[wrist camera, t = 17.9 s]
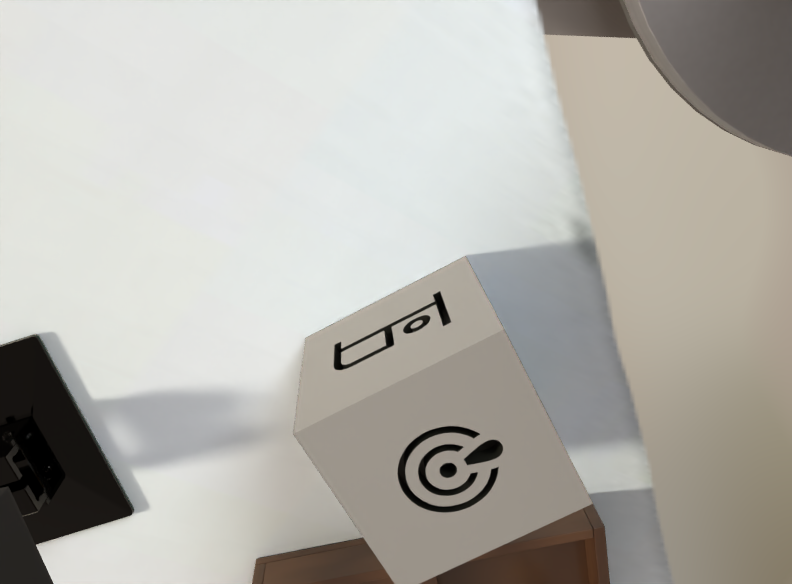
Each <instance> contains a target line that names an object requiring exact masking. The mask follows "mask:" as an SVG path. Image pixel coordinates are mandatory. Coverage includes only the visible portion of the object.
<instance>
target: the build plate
mask: <svg viewBox="0 0 792 584" xmlns="http://www.w3.org/2000/svg"><path fill="white" fill-rule="evenodd" d="M8 486H9V489H10V491H11V493H12V495H13V497H14V499H15V502H16V504H17V506H18V508H19V510H20V512H21V515H22V517H23V519H24V521H25V523H26V525H27V528H28V530H29V532H30V534H31V536H32V538H33V541H34V543H35V545H36V544H39V543H42V542H46V541H49V540H52V539H55V538H59V537H62V536H65V535H68V534H72V533H75V532H78V531H81V530H85V529H88V528H91V527H94V526H98V525H101V524H104V523H107V522H111V521H114V520H117V519H120V518H124V517H127V516H130V515H132V513H133V511H134V507H133V506H132V504H131V502H130V500H129V498H128V497H127V495H126V493H125V491H124V489H123V487H122V486H121V484H120V482H119V480H118V478H117V476H116V475H115V473H114V471H113V469H112V467H111V466H110V464H109V462H108V460H107V458H106V456H105V455H104V453H103V451H102V449H101V447H100V445H99V444H98V442H97V440H96V438H95V436H94V435H93V433H92V431H91V429H90V427H89V425H88V424H87V422H86V420H85V418H84V416H83V414H82V413H81V411H80V409H79V407H78V405H77V404H76V402H75V400H74V398H73V396H72V394H71V393H70V391H69V389H68V387H67V385H66V383H65V382H64V380H63V378H62V376H61V374H60V373H59V371H58V369H57V367H56V365H55V363H54V362H53V360H52V358H51V356H50V354H49V352H48V351H47V349H46V347H45V345H44V343H43V342H42V340H41V338H40V336H39V335H36V334H34V335H30V336H27V337H24V338H21V339H18V340H15V341H12V342H9V343H6V344H2V345H0V488H3V487H8Z"/></svg>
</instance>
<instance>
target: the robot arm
mask: <svg viewBox="0 0 792 584" xmlns="http://www.w3.org/2000/svg"><path fill="white" fill-rule="evenodd" d="M0 584H53V582H52V579H51V577H50V575H49V573H48V571H47V569H46V566H45V564H44V562H43V560H42V558H41V556H40V554H39V551H38V549H37V547H36V545H35V543H34V541H33V538H32V536H31V534H30V532H29V530H28V528H27V525H26V523H25V521H24V519H23V517H22V515H21V512H20V510H19V508H18V506H17V504H16V502H15V499H14V497H13V495H12V493H11V491H10V489H9V486H8V487H3V488H0Z"/></svg>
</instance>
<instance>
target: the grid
mask: <svg viewBox="0 0 792 584" xmlns="http://www.w3.org/2000/svg"><path fill="white" fill-rule="evenodd" d="M252 584H394V582H393V581H392V579H391V578H390V576H389V575H388V573H387V572H386V570H385V569H384V567H383V566H382V564H381V563H380V561H379V560H378V558H377V557H376V556H375V554H374V553H373V551H372V550H371V548H370V547H369V545H368V544H367V542H366V541H365V539H364V538H361V539H356V540H351V541H346V542H340V543H335V544H330V545H325V546H320V547H314V548H309V549H304V550H299V551H294V552H289V553H283V554H278V555H273V556H268V557H263V558H258V559H256V564H255V569H254V575H253V581H252ZM420 584H610V579H609V568H608V557H607V547H606V536H605V526H604V524H603V522H602V521H601V519H600V517H599V515H598V513H597V511H596V509H595V507H594V505H593V504H591V505H589V506H587V507H584V508H582V509H580V510H578V511H576V512H574V513H571V514H569V515H567V516H565V517H563V518H561V519H558V520H556V521H554V522H552V523H550V524H548V525H545V526H543V527H541V528H539V529H537V530H535V531H532V532H530V533H528V534H526V535H524V536H522V537H519V538H517V539H515V540H513V541H511V542H509V543H507V544H504V545H502V546H500V547H498V548H496V549H494V550H491V551H489V552H487V553H485V554H483V555H481V556H478V557H476V558H474V559H472V560H470V561H468V562H465V563H463V564H461V565H459V566H457V567H455V568H452V569H450V570H448V571H446V572H444V573H442V574H439V575H437V576H435V577H433V578H431V579H429V580H426V581H424V582H422V583H420Z"/></svg>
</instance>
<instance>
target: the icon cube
mask: <svg viewBox="0 0 792 584" xmlns="http://www.w3.org/2000/svg"><path fill="white" fill-rule="evenodd" d="M293 434H294V436H295V437H296V439H297V440H298V442H299V443H300V445H301V446H302V448H303V449H304V451H305V452H306V454H307V455H308V457H309V458H310V460H311V461H312V463H313V464H314V465H315V467H316V468H317V470H318V471H319V473H320V474H321V476H322V477H323V479H324V480H325V482H326V483H327V485H328V486H329V488H330V489H331V491H332V492H333V494H334V495H335V496H336V498H337V499H338V501H339V502H340V504H341V505H342V507H343V508H344V510H345V511H346V513H347V514H348V516H349V517H350V519H351V520H352V522H353V523H354V525H355V526H356V527H357V529H358V530H359V532H360V533H361V535H362V536H363V538H364V539H365V541H366V542H367V544H368V545H369V547H370V548H371V550H372V551H373V553H374V554H375V556H376V557H377V558H378V560H379V561H380V563H381V564H382V566H383V567H384V569H385V570H386V572H387V573H388V575H389V576H390V578H391V579H392V581H393V582H394V584H420V583H422V582H424V581H426V580H429V579H431V578H433V577H435V576H437V575H439V574H442V573H444V572H446V571H448V570H450V569H452V568H455V567H457V566H459V565H461V564H463V563H465V562H468V561H470V560H472V559H474V558H476V557H478V556H481V555H483V554H485V553H487V552H489V551H491V550H494V549H496V548H498V547H500V546H502V545H504V544H507V543H509V542H511V541H513V540H515V539H517V538H519V537H522V536H524V535H526V534H528V533H530V532H532V531H535V530H537V529H539V528H541V527H543V526H545V525H548V524H550V523H552V522H554V521H556V520H558V519H561V518H563V517H565V516H567V515H569V514H571V513H574V512H576V511H578V510H580V509H582V508H584V507H587V506H589V505H591V504H593V502H592V501H591V499H590V497H589V495H588V493H587V491H586V489H585V487H584V485H583V483H582V481H581V479H580V477H579V475H578V473H577V471H576V469H575V467H574V465H573V463H572V461H571V459H570V457H569V455H568V453H567V451H566V450H565V448H564V446H563V444H562V442H561V440H560V438H559V436H558V434H557V432H556V430H555V428H554V426H553V424H552V422H551V420H550V418H549V416H548V414H547V412H546V410H545V408H544V406H543V404H542V402H541V400H540V399H539V397H538V395H537V393H536V391H535V389H534V387H533V385H532V383H531V381H530V379H529V377H528V375H527V373H526V371H525V369H524V367H523V365H522V363H521V361H520V359H519V357H518V355H517V353H516V351H515V349H514V348H513V346H512V344H511V342H510V340H509V338H508V336H507V334H506V332H505V330H504V328H503V326H502V324H501V322H500V320H499V318H498V317H497V315H496V313H495V311H494V309H493V307H492V305H491V303H490V301H489V299H488V298H487V296H486V294H485V292H484V290H483V288H482V286H481V284H480V282H479V280H478V279H477V277H476V275H475V273H474V271H473V269H472V267H471V265H470V263H469V261H468V260H467V258H466V256H465V257H463V258H461V259H459V260H457V261H455V262H453V263H451V264H449V265H447V266H445V267H443V268H441V269H439V270H437V271H435V272H433V273H431V274H429V275H427V276H426V277H424V278H422V279H420V280H418V281H416V282H414V283H412V284H410V285H408V286H406V287H404V288H402V289H400V290H398V291H396V292H394V293H392V294H390V295H388V296H386V297H385V298H383V299H381V300H379V301H377V302H375V303H373V304H371V305H369V306H367V307H365V308H363V309H361V310H359V311H357V312H355V313H353V314H351V315H349V316H347V317H345V318H344V319H342V320H340V321H338V322H336V323H334V324H332V325H330V326H328V327H326V328H324V329H322V330H320V331H318V332H316V333H314V334H312V335H310V336H308V337H306V338H305V344H304V352H303V360H302V368H301V376H300V384H299V392H298V400H297V408H296V415H295V423H294V431H293Z"/></svg>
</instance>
